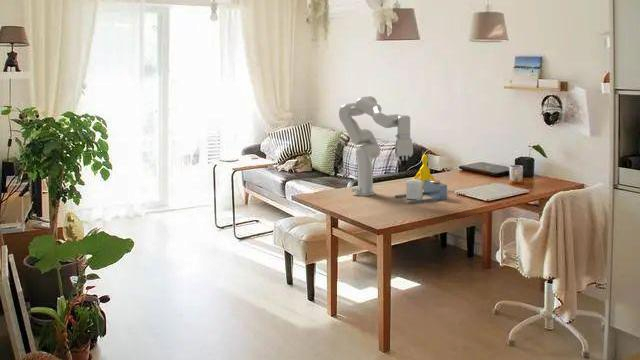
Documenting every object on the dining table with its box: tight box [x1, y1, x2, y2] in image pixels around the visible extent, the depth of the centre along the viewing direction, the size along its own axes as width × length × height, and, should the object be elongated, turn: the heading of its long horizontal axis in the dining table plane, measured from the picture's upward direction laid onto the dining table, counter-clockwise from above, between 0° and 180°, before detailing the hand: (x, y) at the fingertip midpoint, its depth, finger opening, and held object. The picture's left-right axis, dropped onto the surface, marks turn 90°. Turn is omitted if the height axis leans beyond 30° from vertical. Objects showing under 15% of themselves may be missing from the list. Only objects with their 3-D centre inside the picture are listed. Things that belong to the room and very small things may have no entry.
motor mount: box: [394, 179, 448, 205], centre depth 356 cm, size 26×19×10 cm
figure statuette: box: [412, 154, 437, 188], centre depth 387 cm, size 18×8×22 cm, turn 93°
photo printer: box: [405, 178, 424, 201], centre depth 356 cm, size 10×4×12 cm, turn 61°
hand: (403, 166), depth 349 cm, fingers closed
